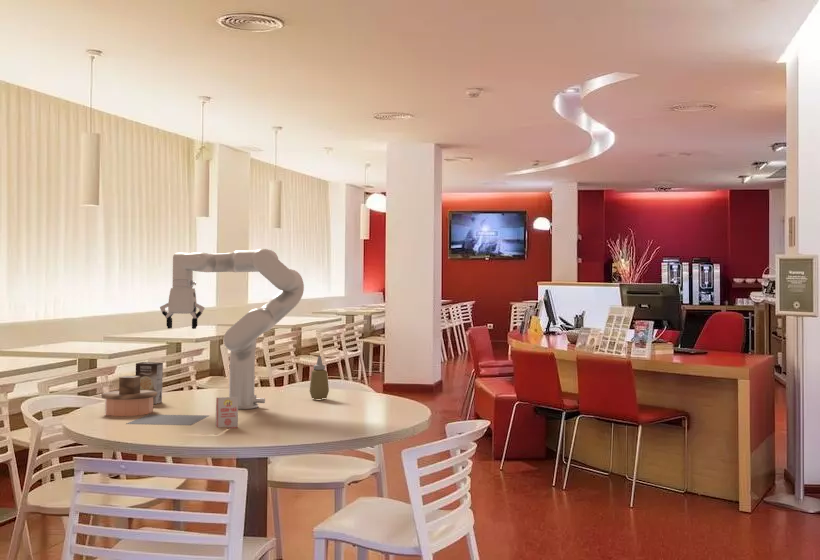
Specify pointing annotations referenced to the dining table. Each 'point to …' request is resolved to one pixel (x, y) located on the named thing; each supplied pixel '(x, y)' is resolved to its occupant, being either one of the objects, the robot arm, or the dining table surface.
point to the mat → (169, 419)
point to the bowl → (128, 407)
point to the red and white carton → (227, 412)
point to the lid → (129, 390)
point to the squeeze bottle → (319, 381)
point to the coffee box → (151, 378)
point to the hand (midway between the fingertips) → (181, 328)
